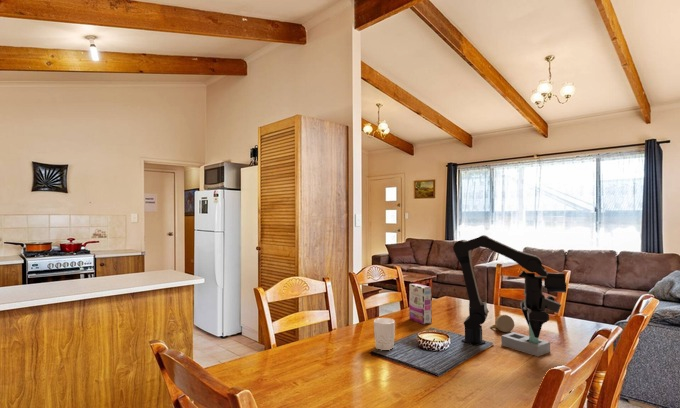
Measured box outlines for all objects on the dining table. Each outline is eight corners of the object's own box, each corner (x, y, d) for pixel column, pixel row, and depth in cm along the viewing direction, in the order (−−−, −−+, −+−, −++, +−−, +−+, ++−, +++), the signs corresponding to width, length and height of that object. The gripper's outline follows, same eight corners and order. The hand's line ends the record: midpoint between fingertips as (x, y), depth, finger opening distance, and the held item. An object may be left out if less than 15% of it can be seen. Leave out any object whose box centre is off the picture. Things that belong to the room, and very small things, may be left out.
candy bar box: (432, 323, 174) (432, 287, 174) (423, 325, 172) (423, 288, 172) (417, 317, 184) (417, 282, 184) (408, 318, 182) (408, 283, 182)
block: (537, 356, 134) (537, 346, 134) (501, 345, 146) (501, 335, 146) (550, 351, 138) (550, 342, 138) (513, 340, 150) (513, 331, 150)
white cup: (394, 352, 139) (394, 324, 139) (372, 350, 140) (372, 323, 141) (395, 344, 147) (395, 318, 147) (375, 343, 148) (375, 317, 148)
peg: (535, 353, 137) (535, 324, 137) (527, 350, 140) (527, 322, 140) (540, 351, 139) (539, 323, 139) (532, 349, 141) (531, 321, 141)
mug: (505, 326, 170) (514, 309, 165) (509, 342, 161) (517, 325, 156) (488, 321, 171) (496, 304, 166) (490, 337, 162) (498, 320, 158)
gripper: (565, 297, 128) (566, 344, 128) (551, 286, 146) (552, 327, 146) (529, 295, 131) (529, 341, 131) (519, 284, 149) (520, 325, 149)
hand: (534, 333), depth 139 cm, fingers open, 9 cm apart
